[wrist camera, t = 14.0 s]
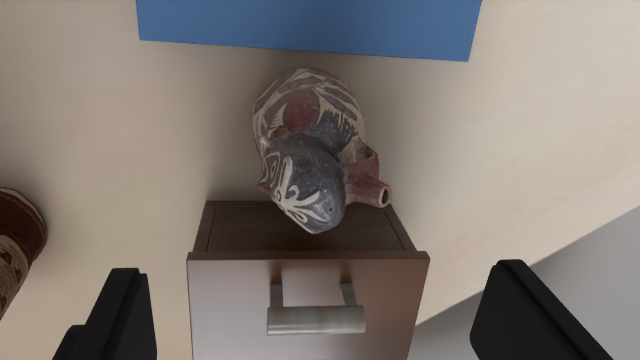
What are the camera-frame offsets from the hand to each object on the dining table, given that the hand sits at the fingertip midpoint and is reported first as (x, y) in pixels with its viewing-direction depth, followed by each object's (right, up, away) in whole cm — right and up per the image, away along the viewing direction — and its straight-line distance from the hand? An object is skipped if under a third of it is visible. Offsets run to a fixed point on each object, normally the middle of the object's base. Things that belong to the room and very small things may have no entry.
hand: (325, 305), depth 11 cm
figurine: (-1, +7, +17) cm, 18 cm away
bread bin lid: (-1, -6, +15) cm, 16 cm away
